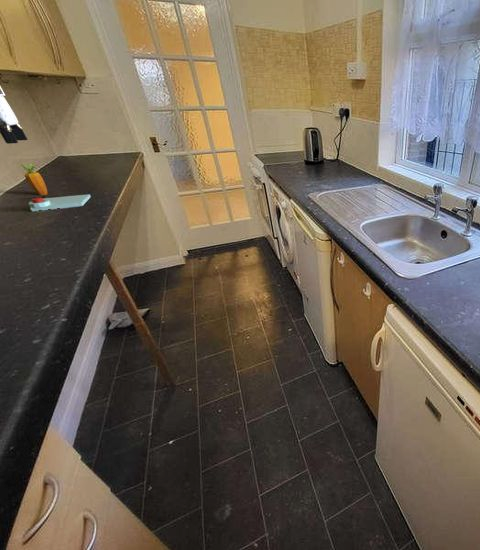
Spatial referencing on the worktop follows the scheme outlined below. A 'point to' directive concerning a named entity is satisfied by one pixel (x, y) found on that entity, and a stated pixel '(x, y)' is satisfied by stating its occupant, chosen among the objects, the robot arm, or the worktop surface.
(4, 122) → the robot arm
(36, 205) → the scale
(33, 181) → the carrot
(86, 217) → the worktop surface
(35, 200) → the tare button
